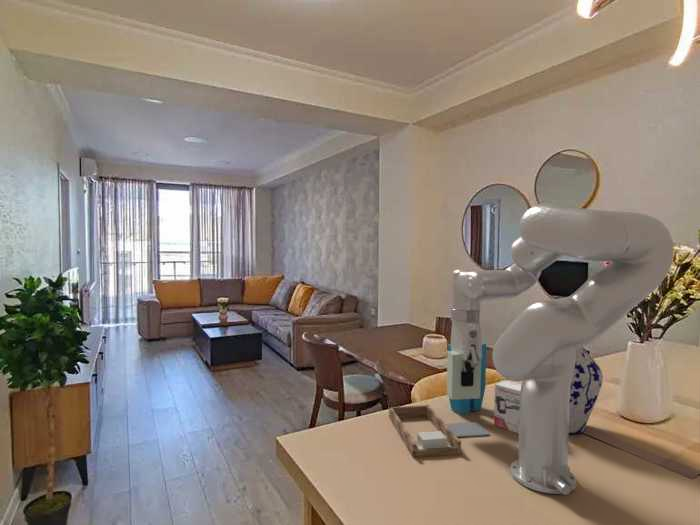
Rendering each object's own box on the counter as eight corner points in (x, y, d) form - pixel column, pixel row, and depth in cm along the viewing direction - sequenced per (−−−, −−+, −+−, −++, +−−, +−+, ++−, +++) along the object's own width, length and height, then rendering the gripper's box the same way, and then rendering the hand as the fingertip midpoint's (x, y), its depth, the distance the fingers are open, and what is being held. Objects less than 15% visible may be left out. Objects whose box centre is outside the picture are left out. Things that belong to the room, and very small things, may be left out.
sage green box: (480, 398, 109) (481, 353, 109) (451, 399, 108) (452, 354, 108) (474, 393, 113) (475, 350, 112) (446, 394, 112) (447, 351, 111)
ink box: (493, 425, 114) (493, 383, 113) (501, 420, 117) (502, 379, 117) (523, 435, 108) (524, 391, 107) (531, 430, 111) (532, 386, 111)
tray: (460, 454, 98) (460, 441, 97) (412, 457, 96) (413, 444, 96) (428, 415, 120) (428, 405, 120) (389, 417, 119) (389, 407, 118)
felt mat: (489, 435, 107) (489, 433, 107) (449, 438, 106) (449, 436, 106) (476, 423, 115) (476, 422, 115) (439, 425, 113) (439, 424, 113)
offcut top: (446, 446, 99) (446, 438, 99) (423, 448, 98) (423, 440, 98) (440, 438, 103) (440, 430, 103) (417, 440, 102) (417, 432, 101)
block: (474, 402, 130) (475, 340, 130) (486, 408, 126) (487, 343, 125) (445, 409, 124) (446, 344, 124) (457, 415, 120) (458, 348, 119)
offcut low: (451, 455, 98) (451, 447, 98) (419, 458, 97) (419, 449, 97) (443, 445, 103) (443, 437, 103) (412, 447, 102) (412, 440, 102)
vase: (610, 447, 101) (613, 326, 100) (526, 435, 108) (529, 321, 107) (592, 417, 119) (594, 315, 118) (521, 409, 126) (523, 311, 125)
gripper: (493, 321, 102) (491, 393, 103) (465, 310, 118) (463, 373, 119) (465, 321, 101) (463, 395, 101) (440, 310, 117) (439, 374, 118)
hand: (463, 382), depth 110 cm, fingers closed on sage green box, 3 cm apart
